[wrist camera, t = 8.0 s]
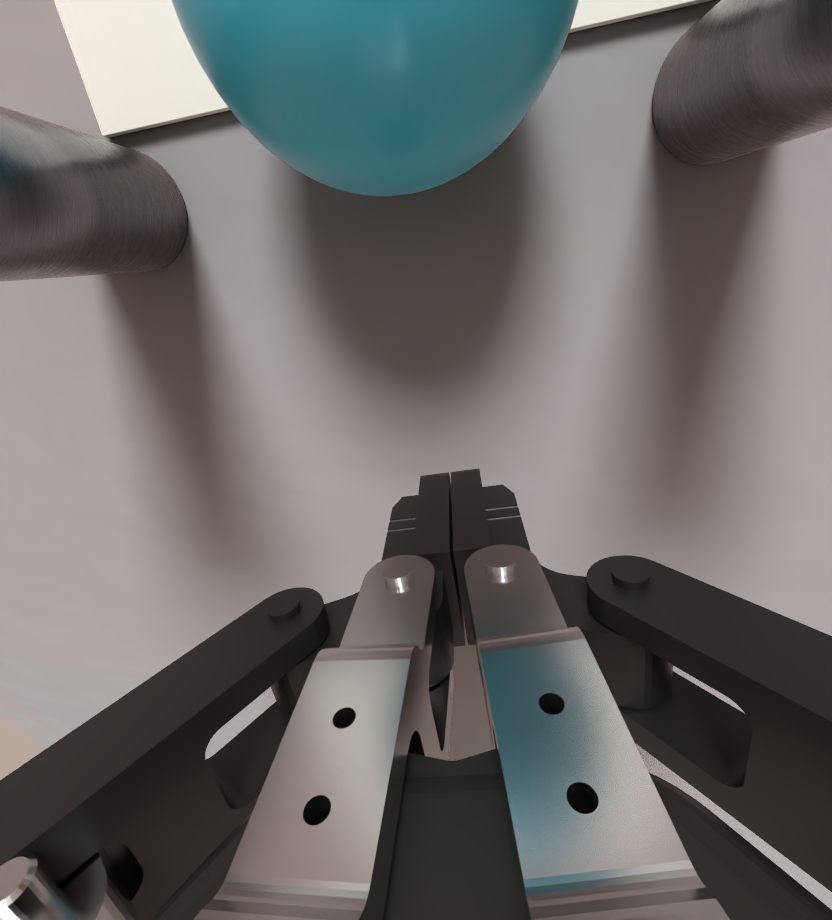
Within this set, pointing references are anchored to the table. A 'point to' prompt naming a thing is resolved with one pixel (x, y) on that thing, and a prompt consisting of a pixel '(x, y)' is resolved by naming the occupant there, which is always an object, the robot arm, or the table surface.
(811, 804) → the robot arm
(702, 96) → the post
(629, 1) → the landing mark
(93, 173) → the post
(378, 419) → the table surface
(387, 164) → the ball
